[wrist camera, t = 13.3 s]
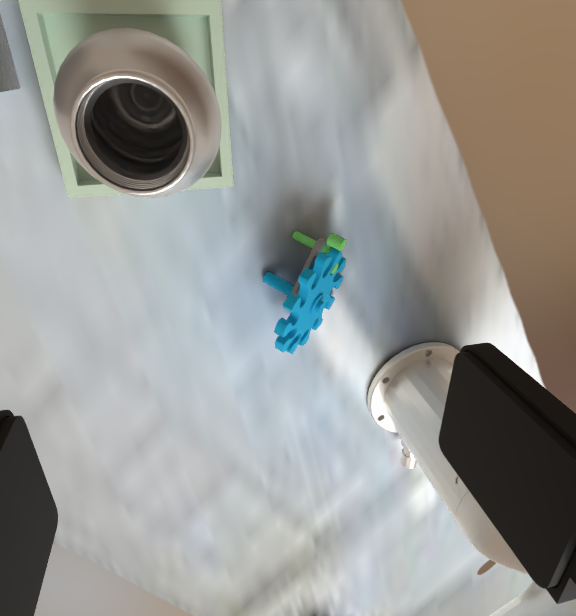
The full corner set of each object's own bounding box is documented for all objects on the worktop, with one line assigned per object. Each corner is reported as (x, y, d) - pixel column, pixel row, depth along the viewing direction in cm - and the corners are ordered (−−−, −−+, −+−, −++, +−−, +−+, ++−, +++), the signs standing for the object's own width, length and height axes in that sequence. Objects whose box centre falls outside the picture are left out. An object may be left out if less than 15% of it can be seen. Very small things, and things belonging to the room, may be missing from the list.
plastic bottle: (122, 15, 28) (67, -55, 11) (214, 84, 31) (280, 111, 14) (77, 107, 30) (-29, 166, 13) (168, 163, 33) (180, 271, 16)
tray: (229, 179, 35) (233, 186, 33) (73, 190, 33) (68, 198, 31) (216, 3, 29) (221, -1, 28) (26, 0, 27) (16, -5, 25)
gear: (314, 351, 43) (272, 366, 34) (266, 322, 45) (214, 328, 36) (367, 249, 41) (337, 235, 32) (314, 223, 43) (271, 203, 34)
